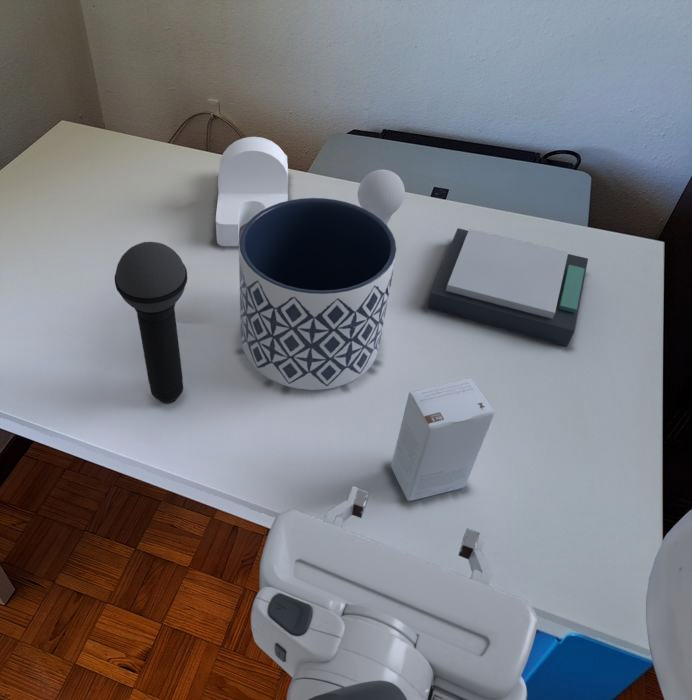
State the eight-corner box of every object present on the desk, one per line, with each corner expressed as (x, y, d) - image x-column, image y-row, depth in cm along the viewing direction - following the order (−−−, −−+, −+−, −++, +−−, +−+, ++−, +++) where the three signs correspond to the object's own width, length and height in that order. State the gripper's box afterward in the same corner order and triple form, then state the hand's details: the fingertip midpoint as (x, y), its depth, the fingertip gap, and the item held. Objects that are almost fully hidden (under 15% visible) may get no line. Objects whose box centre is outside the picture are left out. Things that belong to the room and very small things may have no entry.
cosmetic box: (444, 453, 68) (472, 372, 59) (466, 491, 65) (499, 411, 56) (387, 467, 67) (406, 387, 58) (406, 506, 64) (430, 427, 55)
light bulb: (372, 219, 96) (381, 155, 88) (405, 238, 92) (418, 173, 85) (343, 236, 93) (350, 172, 86) (376, 257, 90) (386, 191, 83)
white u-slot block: (216, 246, 93) (212, 180, 85) (223, 173, 105) (221, 111, 98) (287, 246, 92) (290, 180, 85) (286, 173, 104) (288, 110, 97)
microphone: (152, 367, 77) (129, 221, 63) (207, 381, 76) (195, 234, 61) (127, 411, 73) (96, 264, 59) (184, 426, 71) (166, 279, 57)
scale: (581, 273, 86) (591, 251, 84) (567, 346, 78) (577, 324, 75) (453, 243, 91) (459, 221, 89) (427, 308, 83) (432, 286, 80)
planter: (387, 393, 74) (409, 292, 63) (240, 393, 74) (237, 294, 64) (369, 295, 85) (385, 195, 74) (241, 296, 85) (239, 198, 75)
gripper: (533, 730, 42) (562, 542, 51) (232, 595, 49) (303, 449, 57) (506, 757, 47) (537, 581, 55) (234, 630, 53) (299, 490, 62)
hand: (416, 513), depth 56 cm, fingers open, 8 cm apart
